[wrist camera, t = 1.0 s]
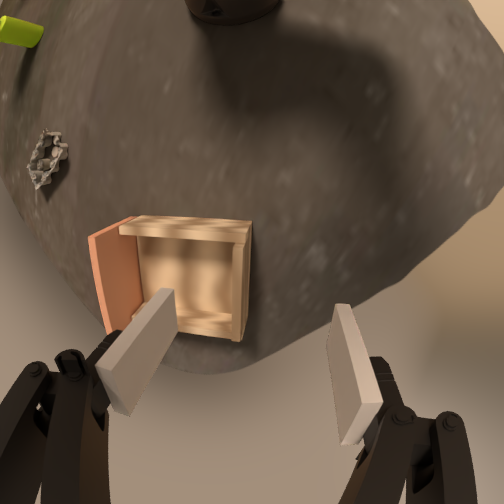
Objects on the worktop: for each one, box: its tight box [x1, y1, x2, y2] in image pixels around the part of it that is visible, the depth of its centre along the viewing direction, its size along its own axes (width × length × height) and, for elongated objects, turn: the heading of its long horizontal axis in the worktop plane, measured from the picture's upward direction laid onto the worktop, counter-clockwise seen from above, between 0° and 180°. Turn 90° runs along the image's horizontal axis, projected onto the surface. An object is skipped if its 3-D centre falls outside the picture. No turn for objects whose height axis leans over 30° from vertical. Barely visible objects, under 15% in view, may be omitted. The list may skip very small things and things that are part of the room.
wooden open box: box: [119, 215, 252, 342], centre depth 40 cm, size 18×16×9 cm
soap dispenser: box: [0, 16, 44, 48], centre depth 21 cm, size 6×7×20 cm
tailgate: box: [88, 217, 144, 335], centre depth 38 cm, size 1×16×12 cm, turn 177°
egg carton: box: [27, 129, 68, 190], centre depth 39 cm, size 11×8×4 cm
